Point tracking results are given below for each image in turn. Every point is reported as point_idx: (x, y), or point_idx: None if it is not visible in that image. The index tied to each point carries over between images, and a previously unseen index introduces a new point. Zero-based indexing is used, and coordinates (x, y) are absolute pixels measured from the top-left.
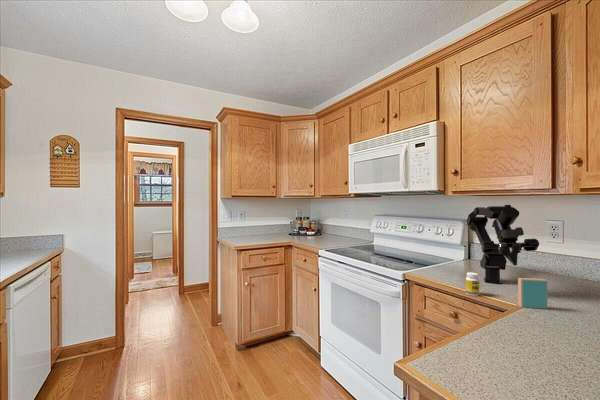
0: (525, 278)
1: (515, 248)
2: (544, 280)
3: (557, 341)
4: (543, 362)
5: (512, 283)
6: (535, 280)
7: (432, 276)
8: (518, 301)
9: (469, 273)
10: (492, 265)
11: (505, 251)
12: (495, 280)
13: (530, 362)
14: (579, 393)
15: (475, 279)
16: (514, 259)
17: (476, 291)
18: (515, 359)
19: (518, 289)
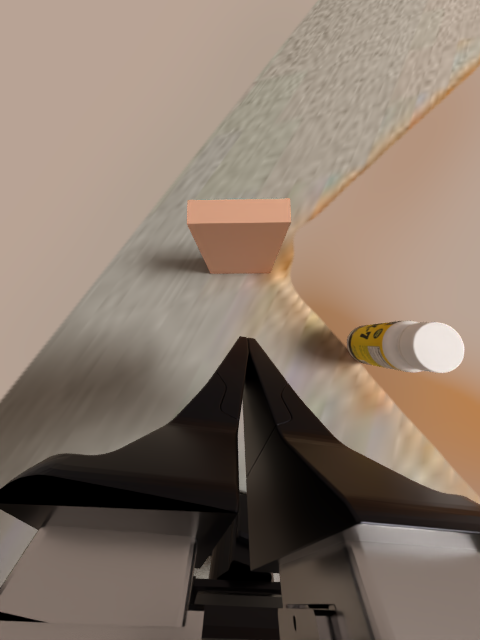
0: (263, 216)
1: (205, 447)
2: (198, 200)
3: (290, 102)
4: (350, 37)
5: None
6: (233, 200)
7: None
8: (271, 267)
9: (453, 345)
10: (262, 594)
11: (341, 443)
12: (244, 501)
13: (368, 33)
14: None
15: (408, 324)
16: (247, 358)
17: (367, 325)
18: (386, 36)
19: (279, 248)
